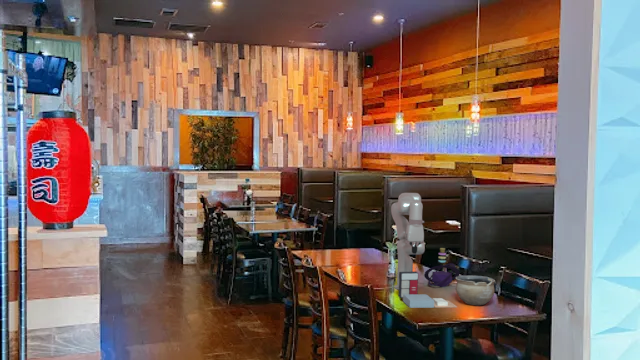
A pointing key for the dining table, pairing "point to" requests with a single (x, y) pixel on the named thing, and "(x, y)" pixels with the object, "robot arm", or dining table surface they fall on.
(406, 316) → the dining table surface
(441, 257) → the decorative bottle
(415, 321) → the dining table surface
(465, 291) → the ceramic bowl
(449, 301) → the mat
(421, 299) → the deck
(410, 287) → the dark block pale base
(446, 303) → the tile
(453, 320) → the dining table surface
